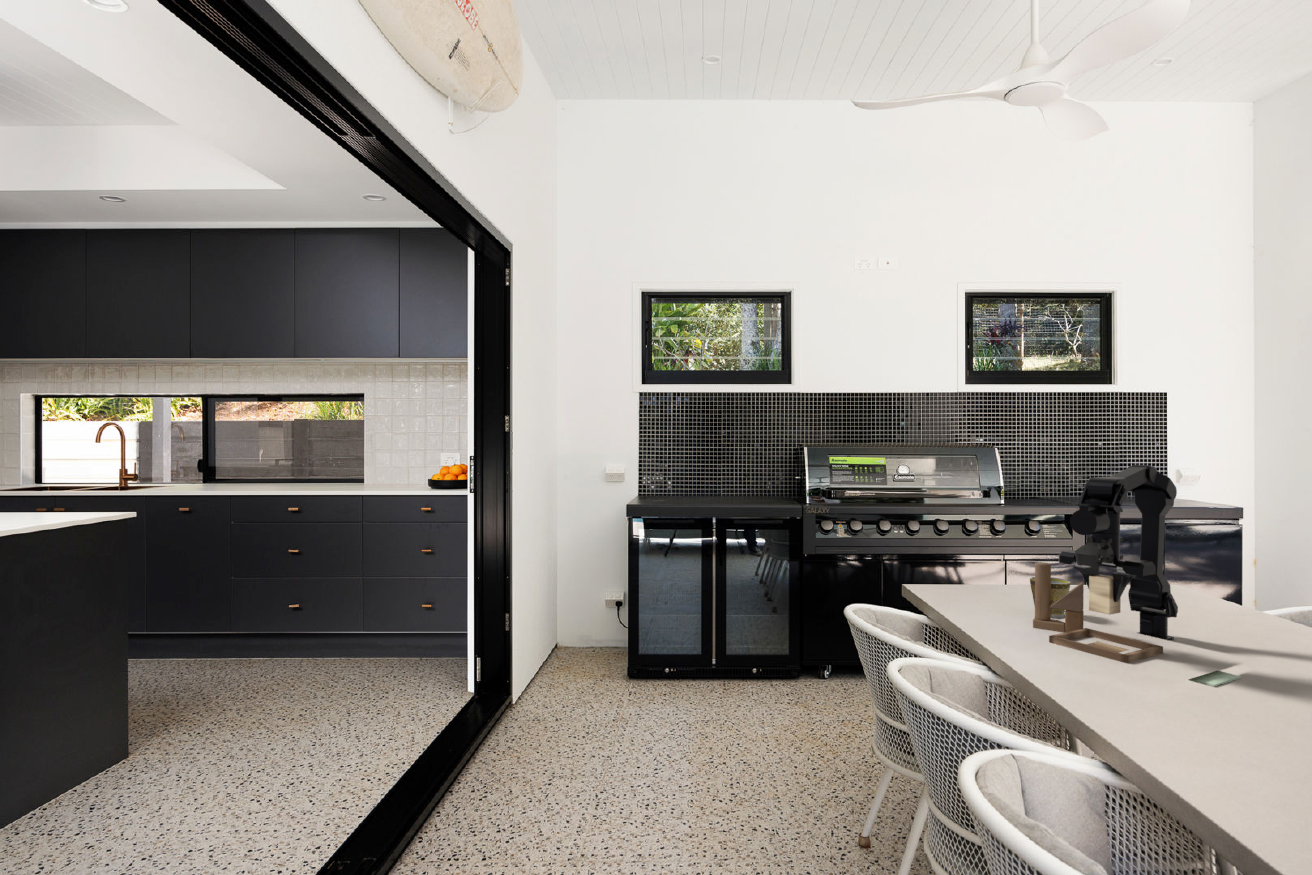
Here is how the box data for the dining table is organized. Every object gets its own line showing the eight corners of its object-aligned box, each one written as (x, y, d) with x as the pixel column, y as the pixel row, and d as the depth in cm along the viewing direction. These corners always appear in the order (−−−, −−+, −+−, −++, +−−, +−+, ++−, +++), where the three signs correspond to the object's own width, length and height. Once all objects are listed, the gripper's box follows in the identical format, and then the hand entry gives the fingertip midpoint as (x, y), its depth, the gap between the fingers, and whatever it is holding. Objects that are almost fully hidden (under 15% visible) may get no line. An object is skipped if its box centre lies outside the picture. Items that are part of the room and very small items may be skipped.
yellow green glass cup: (1078, 620, 190) (1078, 583, 190) (1041, 619, 190) (1041, 583, 190) (1051, 608, 203) (1051, 574, 203) (1017, 608, 203) (1017, 574, 203)
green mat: (1180, 662, 154) (1180, 661, 154) (1240, 678, 144) (1240, 676, 144) (1153, 670, 148) (1153, 668, 148) (1214, 686, 139) (1214, 684, 139)
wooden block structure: (1081, 641, 170) (1081, 568, 170) (1032, 633, 177) (1032, 563, 177) (1083, 638, 173) (1083, 566, 173) (1035, 630, 179) (1035, 561, 179)
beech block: (1100, 608, 163) (1100, 574, 163) (1120, 612, 159) (1120, 577, 159) (1089, 610, 161) (1089, 576, 161) (1109, 614, 157) (1109, 579, 157)
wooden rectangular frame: (1086, 640, 171) (1086, 627, 171) (1163, 659, 156) (1163, 646, 156) (1049, 648, 164) (1049, 635, 164) (1125, 669, 149) (1126, 655, 149)
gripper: (1044, 529, 164) (1044, 594, 164) (1129, 539, 148) (1128, 612, 148) (1072, 526, 170) (1072, 590, 169) (1157, 536, 153) (1156, 607, 153)
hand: (1104, 599), depth 160 cm, fingers closed on beech block, 4 cm apart
